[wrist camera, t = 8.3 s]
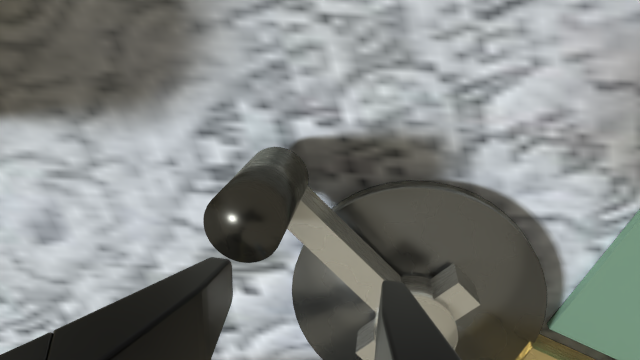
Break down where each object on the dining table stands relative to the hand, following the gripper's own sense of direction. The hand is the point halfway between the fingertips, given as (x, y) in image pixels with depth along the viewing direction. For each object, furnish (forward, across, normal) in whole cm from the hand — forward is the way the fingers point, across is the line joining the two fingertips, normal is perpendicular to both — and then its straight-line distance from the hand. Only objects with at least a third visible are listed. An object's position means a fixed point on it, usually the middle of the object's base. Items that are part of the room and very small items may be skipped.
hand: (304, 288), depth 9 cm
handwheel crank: (+11, 0, +5) cm, 12 cm away
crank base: (+12, -4, +8) cm, 15 cm away
